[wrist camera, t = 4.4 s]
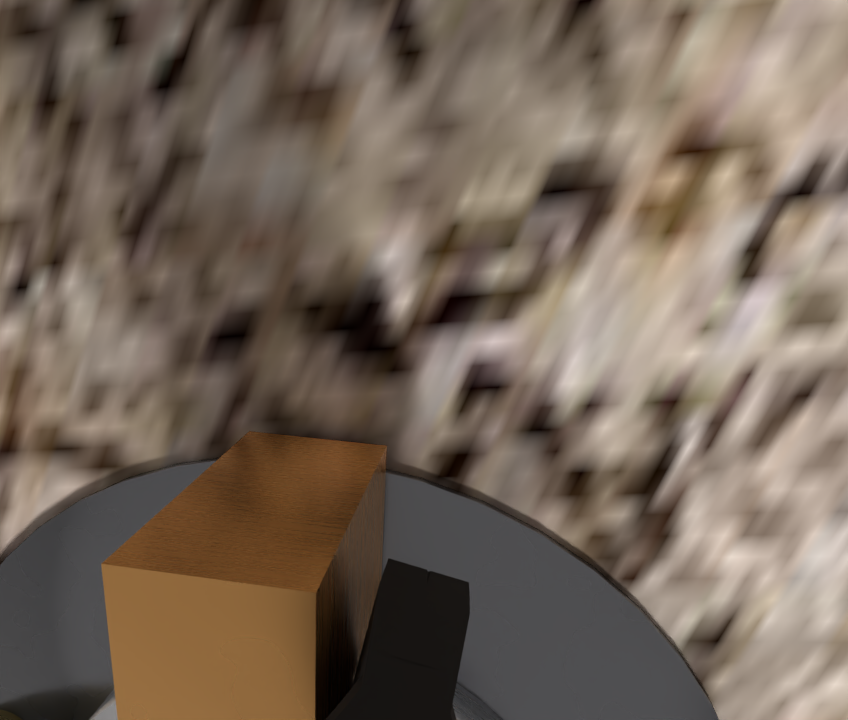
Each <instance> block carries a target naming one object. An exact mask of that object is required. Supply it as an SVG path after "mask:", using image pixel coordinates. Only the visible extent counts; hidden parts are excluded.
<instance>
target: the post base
mask: <svg viewBox="0 0 848 720" xmlns="http://www.w3.org/2000/svg"><path fill="white" fill-rule="evenodd" d="M218 459H219V458H215V459H208V460H201V461H193V462H186V463H179V464H176V465H172V466H169V467H165V468H162V469H158V470H154V471H151V472H147V473H144V474H140V475H137V476H133V477H130V478H127V479H125V480H123V481H120V482H118V483H116V484H114V485H111V486H109V487H107V488H105V489H103V490H100V491H98V492H96V493H94V494H91V495H89V496H87V497H85V498H83V499H81V500H80V501H78V502H77V503H75V504H74V505H72V506H70V507H69V508H67V509H66V510H64V511H63V512H61V513H60V514H58V515H57V516H55V517H54V518H52V519H51V520H49V521H48V522H46V523H45V524H43V525H42V526H40V527H39V528H38V529H36V530H35V531H34V532H33V533H32V534H31V535H30V536H29V537H28V538H27V539H26V540H25V541H24V542H23V543H21V544H20V545H19V546H18V547H17V548H16V549H15V550H14V551H13V552H12V553H11V554H10V555H9V556H8V557H6V558H5V560H4V561H3V562H2V564H1V565H0V720H89V719H90V718H91V717H92V715H93V714H94V713H95V712H96V710H97V709H98V708H99V707H100V705H101V704H102V703H103V702H104V700H105V699H106V698H107V697H108V695H109V694H110V693H111V692H112V690H113V689H114V680H113V671H112V662H111V652H110V643H109V633H108V624H107V614H106V605H105V595H104V586H103V577H102V567H101V564H102V563H103V562H104V561H105V560H106V559H107V558H108V557H109V556H110V555H112V554H113V553H114V552H115V551H116V550H117V549H118V548H119V547H121V546H122V545H123V544H124V543H125V542H126V541H127V540H128V539H129V538H131V537H132V536H133V535H134V534H135V533H136V532H137V531H138V530H140V529H141V528H142V527H143V526H144V525H145V524H146V523H147V522H148V521H150V520H151V519H152V518H153V517H154V516H155V515H156V514H157V513H159V512H160V511H161V510H162V509H163V508H164V507H165V506H166V505H168V504H169V503H170V502H171V501H172V500H173V499H174V498H175V497H176V496H178V495H179V494H180V493H181V492H182V491H183V490H184V489H185V488H187V487H188V486H189V485H190V484H191V483H192V482H193V481H194V480H195V479H197V478H198V477H199V476H200V475H201V474H202V473H203V472H204V471H206V470H207V469H208V468H209V467H210V466H211V465H212V464H213V463H214V462H216V461H217V460H218ZM388 558H390V559H393V560H397V561H400V562H403V563H407V564H410V565H413V566H416V567H420V568H423V569H426V570H427V571H428V572H429V571H433V572H436V573H440V574H443V575H446V576H450V577H453V578H456V579H460V580H463V581H466V582H469V592H470V616H469V621H468V626H467V632H466V637H465V642H464V647H463V653H462V658H461V663H460V668H459V673H458V678H457V683H458V684H459V685H460V686H462V687H463V688H464V689H466V690H467V691H468V692H470V693H471V694H473V695H474V696H475V697H477V698H478V699H479V700H481V701H482V702H483V703H485V704H486V705H487V706H488V707H489V708H490V709H491V710H492V711H493V712H494V713H495V714H496V715H498V716H499V717H500V718H501V719H502V720H719V719H718V717H717V715H716V713H715V710H714V708H713V706H712V704H711V701H710V699H709V698H708V696H707V695H706V693H705V692H704V690H703V689H702V687H701V685H700V684H699V682H698V681H697V679H696V678H695V676H694V675H693V673H692V672H691V670H690V668H689V667H688V665H687V664H686V662H685V661H684V659H683V658H682V656H681V655H680V653H679V652H678V651H677V650H676V648H675V647H674V646H673V645H672V644H671V643H670V641H669V640H668V639H667V638H666V637H665V636H664V635H663V633H662V632H661V631H660V630H659V629H658V628H657V627H656V625H655V624H654V623H653V622H652V621H651V620H650V618H649V617H648V616H647V615H646V614H645V613H644V612H643V610H642V609H641V608H640V607H639V606H637V605H636V604H635V603H634V602H633V601H632V600H631V599H630V598H628V597H627V596H626V595H625V594H624V593H623V592H622V591H620V590H619V589H618V588H617V587H616V586H615V585H614V584H613V583H611V582H610V581H609V580H608V579H607V578H606V577H605V576H603V575H602V574H601V573H600V572H599V571H598V570H597V569H596V568H594V567H593V566H592V565H590V564H589V563H587V562H586V561H584V560H583V559H581V558H580V557H578V556H577V555H575V554H574V553H572V552H571V551H570V550H568V549H567V548H565V547H564V546H562V545H561V544H559V543H558V542H556V541H555V540H553V539H552V538H550V537H549V536H548V535H546V534H545V533H543V532H542V531H540V530H538V529H536V528H534V527H532V526H530V525H528V524H526V523H524V522H522V521H521V520H519V519H517V518H515V517H513V516H511V515H509V514H507V513H505V512H503V511H501V510H499V509H497V508H495V507H493V506H491V505H490V504H488V503H486V502H484V501H481V500H479V499H476V498H473V497H471V496H468V495H465V494H463V493H460V492H457V491H455V490H452V489H449V488H447V487H444V486H441V485H439V484H436V483H433V482H431V481H428V480H425V479H423V478H419V477H415V476H411V475H407V474H403V473H399V472H394V471H390V470H386V477H385V501H384V525H383V550H382V574H381V578H382V575H383V572H384V569H385V567H386V564H387V561H388Z"/></svg>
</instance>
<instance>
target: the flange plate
mask: <svg viewBox="0 0 848 720" xmlns="http://www.w3.org/2000/svg"><path fill="white" fill-rule="evenodd" d="M386 452H387V446H384V445H374V444H365V443H355V442H346V441H336V440H327V439H317V438H308V437H298V436H289V435H279V434H270V433H260V432H251V431H249V432H248V433H247V434H246V435H245V436H244V437H242V438H241V439H240V440H239V441H238V442H237V443H236V444H235V445H234V446H232V447H231V448H230V449H229V450H228V451H227V452H226V453H225V454H223V455H222V456H221V457H220V458H219V459H218V460H217V461H216V462H214V463H213V464H212V465H211V466H210V467H209V468H208V469H207V470H206V471H204V472H203V473H202V474H201V475H200V476H199V477H198V478H197V479H195V480H194V481H193V482H192V483H191V484H190V485H189V486H188V487H187V488H185V489H184V490H183V491H182V492H181V493H180V494H179V495H178V496H176V497H175V498H174V499H173V500H172V501H171V502H170V503H169V504H168V505H166V506H165V507H164V508H163V509H162V510H161V511H160V512H159V513H157V514H156V515H155V516H154V517H153V518H152V519H151V520H150V521H148V522H147V523H146V524H145V525H144V526H143V527H142V528H141V529H140V530H138V531H137V532H136V533H135V534H134V535H133V536H132V537H131V538H129V539H128V540H127V541H126V542H125V543H124V544H123V545H122V546H121V547H119V548H118V549H117V550H116V551H115V552H114V553H113V554H112V555H110V556H109V557H108V558H107V559H106V560H105V561H104V562H103V563H102V564H101V567H102V577H103V586H104V595H105V605H106V614H107V624H108V633H109V643H110V652H111V662H112V671H113V680H114V689H113V690H112V692H111V693H110V694H109V695H108V697H107V698H106V699H105V700H104V702H103V703H102V704H101V705H100V707H99V708H98V709H97V710H96V712H95V713H94V714H93V715H92V717H91V718H90V719H89V720H325V719H326V718H327V717H328V716H329V715H330V714H331V712H332V711H333V710H334V709H335V708H336V707H337V705H338V704H339V703H340V702H341V700H342V699H343V698H344V697H345V695H346V694H347V693H348V692H349V691H350V689H351V688H352V684H353V680H354V676H355V673H356V669H357V665H358V661H359V658H360V654H361V650H362V646H363V643H364V639H365V635H366V631H367V628H368V624H369V620H370V616H371V613H372V609H373V605H374V601H375V598H376V594H377V590H378V586H379V583H380V581H381V574H382V550H383V525H384V501H385V477H386ZM452 705H453V708H454V712H455V716H456V720H502V719H501V718H500V717H499V716H498V715H496V714H495V713H494V712H493V711H492V710H491V709H490V708H489V707H488V706H487V705H486V704H485V703H483V702H482V701H481V700H479V699H478V698H477V697H475V696H474V695H473V694H471V693H470V692H468V691H467V690H466V689H464V688H463V687H462V686H460V685H459V684H458V683H456V688H455V694H454V699H453V704H452Z"/></svg>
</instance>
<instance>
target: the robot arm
mask: <svg viewBox="0 0 848 720" xmlns="http://www.w3.org/2000/svg"><path fill="white" fill-rule="evenodd" d="M469 616H470V592H469V582H466V581H463V580H460V579H456V578H453V577H450V576H446V575H443V574H440V573H436V572H433V571H429V572H428V571H427V570H426V569H423V568H420V567H416V566H413V565H410V564H407V563H403V562H400V561H397V560H393V559H390V558H388V561H387V564H386V567H385V569H384V572H383V575H382V578H381V581H380V583H379V586H378V590H377V594H376V598H375V601H374V605H373V609H372V613H371V616H370V620H369V624H368V628H367V631H366V635H365V639H364V643H363V646H362V650H361V654H360V658H359V661H358V665H357V669H356V673H355V676H354V680H353V684H352V688H351V689H350V691H349V692H348V693H347V694H346V695H345V697H344V698H343V699H342V700H341V702H340V703H339V704H338V705H337V707H336V708H335V709H334V710H333V711H332V712H331V714H330V715H329V716H328V717H327V718H326V719H325V720H456V716H455V712H454V708H453V705H452V704H453V699H454V694H455V688H456V683H457V678H458V673H459V668H460V663H461V658H462V653H463V647H464V642H465V637H466V632H467V626H468V621H469Z"/></svg>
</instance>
